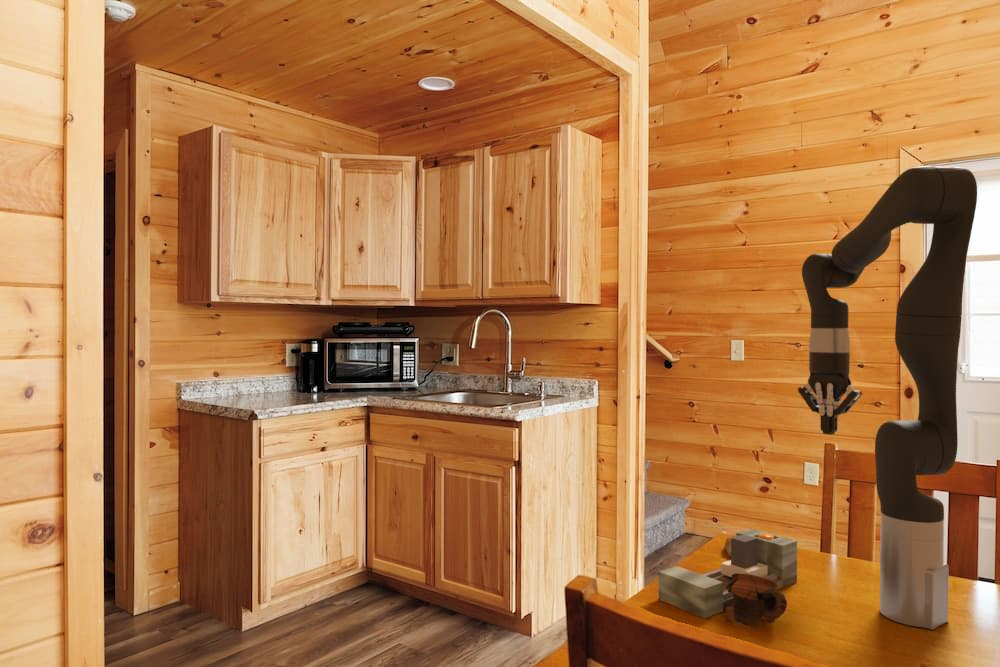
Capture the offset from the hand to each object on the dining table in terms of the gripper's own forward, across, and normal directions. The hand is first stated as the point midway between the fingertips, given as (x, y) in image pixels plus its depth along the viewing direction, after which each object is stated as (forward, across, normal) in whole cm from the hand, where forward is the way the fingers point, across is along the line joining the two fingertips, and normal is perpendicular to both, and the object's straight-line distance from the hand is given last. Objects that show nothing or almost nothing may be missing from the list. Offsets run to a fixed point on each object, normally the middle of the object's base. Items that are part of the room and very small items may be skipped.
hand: (828, 433), depth 142 cm
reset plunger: (+25, +3, +18) cm, 31 cm away
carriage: (+25, +3, +25) cm, 35 cm away
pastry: (+28, +15, +9) cm, 32 cm away
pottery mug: (+27, -7, +36) cm, 46 cm away
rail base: (+27, +3, +29) cm, 40 cm away
